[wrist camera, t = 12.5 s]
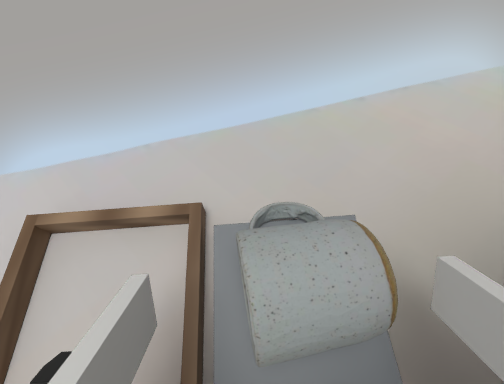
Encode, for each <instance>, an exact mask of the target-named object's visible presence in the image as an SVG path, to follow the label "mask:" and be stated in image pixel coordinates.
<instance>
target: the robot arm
mask: <svg viewBox="0 0 504 384" xmlns="http://www.w3.org/2000/svg"><path fill="white" fill-rule="evenodd" d="M431 310H432V311H433V312H434V313H435V314H436V315H437V316H438V317H439V318H440V319H441V320H442V321H443V322H444V323H445V324H446V325H447V326H448V327H449V328H450V329H451V330H452V331H453V332H454V333H455V334H456V335H457V336H458V337H459V338H460V339H461V340H462V341H463V342H464V343H465V344H466V345H467V346H468V347H469V348H470V349H471V350H472V351H473V352H474V353H475V354H476V355H477V356H478V357H479V358H480V359H481V360H482V361H483V362H484V363H485V364H486V365H487V366H488V367H489V368H490V369H491V370H492V371H493V372H494V373H495V374H496V375H497V376H498V377H499V378H500V379H501V380H502V381H503V382H504V287H503V286H501V285H500V284H498V283H497V282H495V281H494V280H492V279H490V278H489V277H487V276H486V275H484V274H482V273H481V272H479V271H478V270H476V269H474V268H473V267H471V266H470V265H468V264H467V263H465V262H463V261H462V260H460V259H459V258H457V257H455V256H439V257H437V262H436V270H435V278H434V286H433V293H432V301H431ZM156 327H157V321H156V315H155V309H154V304H153V298H152V292H151V286H150V280H149V274H138V275H131V276H130V277H129V279H128V280H127V281H126V283H125V284H124V285H123V287H122V288H121V289H120V290H119V292H118V293H117V294H116V296H115V297H114V298H113V300H112V301H111V302H110V303H109V305H108V306H107V307H106V309H105V310H104V311H103V313H102V314H101V315H100V316H99V318H98V319H97V320H96V322H95V323H94V324H93V325H92V327H91V328H90V329H89V331H88V332H87V333H86V335H85V336H84V337H83V338H82V340H81V341H80V342H79V344H78V345H77V346H76V348H75V349H74V350H73V351H70V352H61V353H60V354H58V355H57V356H56V357H55V358H53V359H52V360H51V361H50V362H48V363H47V364H46V365H45V366H44V367H43V368H42V369H41V370H40V371H39V372H38V374H37V375H36V376H35V377H34V378H33V380H32V381H31V382H30V384H131V383H132V380H133V378H134V376H135V374H136V371H137V369H138V367H139V365H140V363H141V360H142V358H143V356H144V354H145V351H146V349H147V347H148V345H149V342H150V340H151V338H152V336H153V334H154V331H155V329H156Z"/></svg>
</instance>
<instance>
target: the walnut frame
mask: <svg viewBox="0 0 504 384" xmlns="http://www.w3.org/2000/svg"><path fill="white" fill-rule="evenodd" d="M205 216H206V212H205V210H204V207H203V205H202V203H188V204H174V205H160V206H147V207H133V208H119V209H106V210H92V211H78V212H64V213H51V214H37V215H27V216H26V219H25V221H24V224H23V227H22V229H21V232H20V234H19V237H18V240H17V242H16V245H15V248H14V250H13V253H12V256H11V258H10V261H9V263H8V266H7V269H6V271H5V274H4V277H3V279H2V282H1V285H0V384H3V383H4V380H5V376H6V373H7V370H8V367H9V364H10V361H11V358H12V354H13V351H14V348H15V345H16V342H17V339H18V336H19V333H20V329H21V326H22V323H23V320H24V317H25V314H26V311H27V307H28V304H29V301H30V298H31V295H32V292H33V289H34V285H35V282H36V279H37V276H38V273H39V270H40V267H41V263H42V260H43V257H44V254H45V251H46V248H47V245H48V242H49V238H50V235H51V234H52V233H66V232H79V231H93V230H106V229H120V228H133V227H147V226H160V225H174V224H187V223H189V231H188V251H187V270H186V290H185V310H184V330H183V349H182V369H181V384H202V383H203V327H204V272H205Z"/></svg>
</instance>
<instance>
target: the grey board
mask: <svg viewBox="0 0 504 384" xmlns="http://www.w3.org/2000/svg"><path fill="white" fill-rule="evenodd" d="M323 218H324V219H325V220H326V219H346V220H353V221H356V218H355V215H347V216H333V217H323ZM356 222H357V221H356ZM301 223H307V221H305V220H303V219H293V220H279V221H268V222H265V223H263V224H262V225H261V226H260V227H259V228H263V227H271V226H281V225H291V224H301ZM249 226H250V223H239V224H225V225H214V384H403V383H402V380H401V376H400V373H399V369H398V366H397V362H396V359H395V355H394V352H393V348H392V345H391V341H390V338H389V334H388V331H385V332H384V333H382V334H381V335H378V336H376V337H374V338H372V339H370V340H367V341H365V342H361V343H358V344H354V345H349V346H345V347H340V348H335V349H332V350H328V351H325V352H321V353H318V354H314V355H310V356H306V357H302V358H298V359H293V360H289V361H285V362H281V363H278V364H274V365H270V366H266V367H258V366H257V364H256V362H255V358H254V352H253V348H252V341H251V336H250V329H249V324H248V318H247V311H246V304H245V298H244V290H243V284H242V278H241V271H240V264H239V256H238V248H237V243H236V233H237V231H241V230H245V229H249Z"/></svg>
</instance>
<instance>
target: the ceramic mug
mask: <svg viewBox="0 0 504 384" xmlns="http://www.w3.org/2000/svg"><path fill="white" fill-rule="evenodd" d="M285 218H293V219H295V218H299V219H303V220H305V221H307V223H301V224H291V225H281V226H271V227H263V228H259V227H260V226H261V225H262V224H263V223H265V222H268V221H269V220H273V219H285ZM236 243H237V248H238V256H239V264H240V271H241V278H242V284H243V290H244V298H245V304H246V311H247V318H248V324H249V329H250V336H251V341H252V348H253V352H254V358H255V362H256V364H257V366H258V367H266V366H270V365H274V364H278V363H281V362H285V361H289V360H293V359H298V358H302V357H306V356H310V355H314V354H318V353H321V352H325V351H328V350H332V349H335V348H340V347H345V346H349V345H354V344H358V343H361V342H365V341H367V340H370V339H372V338H374V337H376V336H378V335H381V334H382V333H384V332H385V331H387V330H388V329H389V328H390V327H391V326H392V324H393V322H394V320H395V317H396V313H397V306H398V295H397V286H396V279H395V276H394V273H393V270H392V267H391V264H390V261H389V259H388V257H387V255H386V253H385V251H384V249H383V247H382V246H381V244H380V243H379V241H378V240H377V239H376V237H375V236H374V235H373V234H372V233H371V232H370V231H369V230H368V229H367V228H366V227H365V226H363V225H362V224H360V223H358V222H356V221H353V220H346V219H326V220H325V219H324V218H323V216H322V215H321V214H320V213H319V212H317V211H316V210H315V209H313V208H312V207H309V206H307V205H304V204H300V203H294V202H281V203H274V204H270V205H267V206H265V207H263V208H261V209H260V210H259V211H258V212H257V213H256V214H255V215H254V217H253V218H252V220H251V223H250V226H249V229H245V230H241V231H237V233H236Z"/></svg>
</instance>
